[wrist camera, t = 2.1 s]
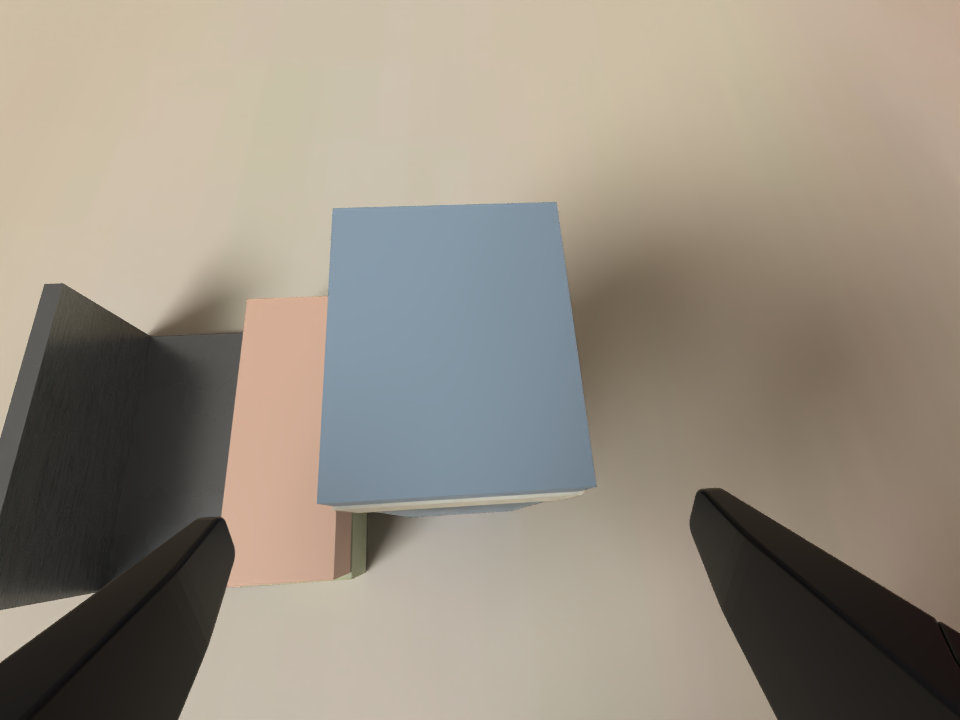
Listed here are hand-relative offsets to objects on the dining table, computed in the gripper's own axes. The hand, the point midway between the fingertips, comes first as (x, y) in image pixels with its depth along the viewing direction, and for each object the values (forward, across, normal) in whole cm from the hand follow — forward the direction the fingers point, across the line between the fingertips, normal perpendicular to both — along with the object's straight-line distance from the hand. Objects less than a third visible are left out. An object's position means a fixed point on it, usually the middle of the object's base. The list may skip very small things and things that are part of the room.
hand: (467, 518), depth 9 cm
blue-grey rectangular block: (+9, 0, +5) cm, 10 cm away
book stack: (+9, +6, +5) cm, 12 cm away
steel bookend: (+9, +10, +5) cm, 15 cm away
